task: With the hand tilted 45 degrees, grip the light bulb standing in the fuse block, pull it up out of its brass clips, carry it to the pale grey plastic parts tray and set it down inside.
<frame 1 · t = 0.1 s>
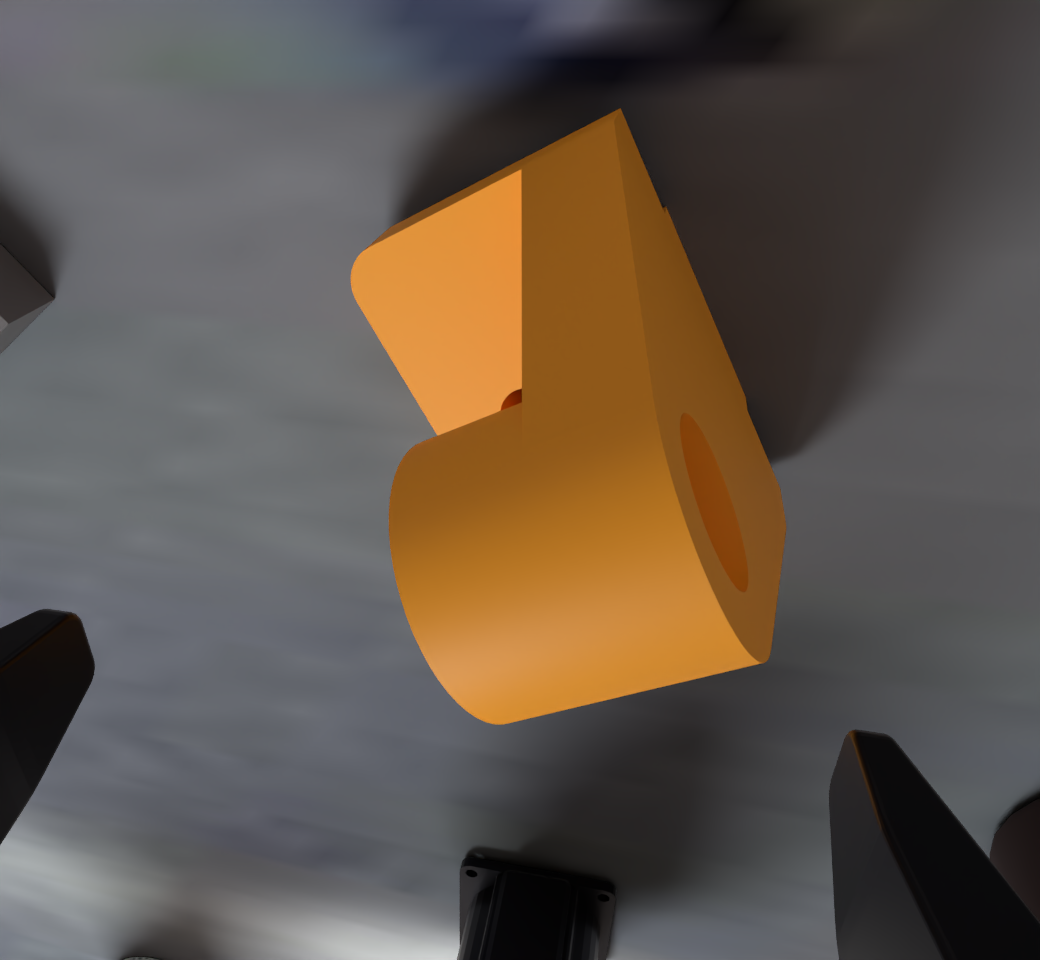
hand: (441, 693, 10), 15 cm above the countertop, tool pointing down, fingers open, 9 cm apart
bracket: (582, 354, 23), on the countertop
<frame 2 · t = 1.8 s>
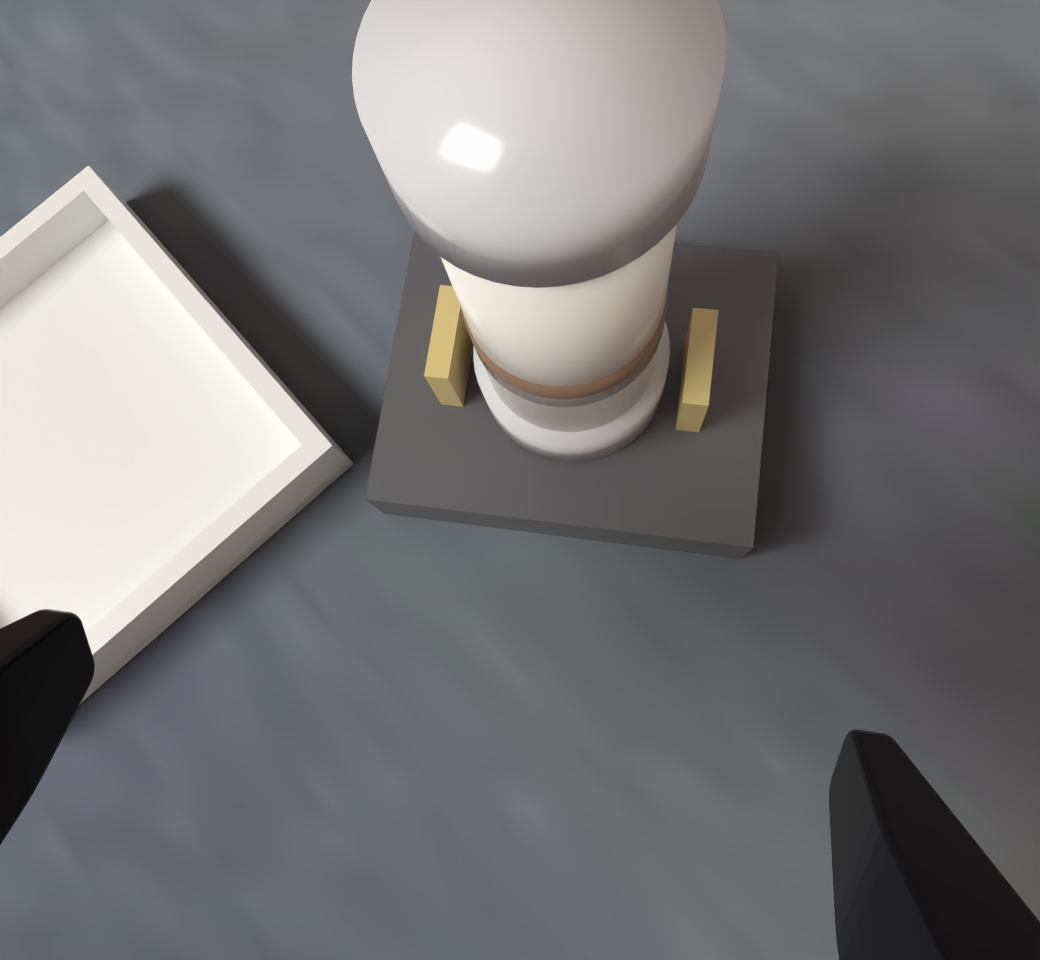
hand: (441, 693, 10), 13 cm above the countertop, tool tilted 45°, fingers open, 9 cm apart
fuse block: (576, 398, 24), on the countertop
tray: (80, 455, 26), on the countertop
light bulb: (573, 374, 23), point 2 cm above the countertop, touching fuse block
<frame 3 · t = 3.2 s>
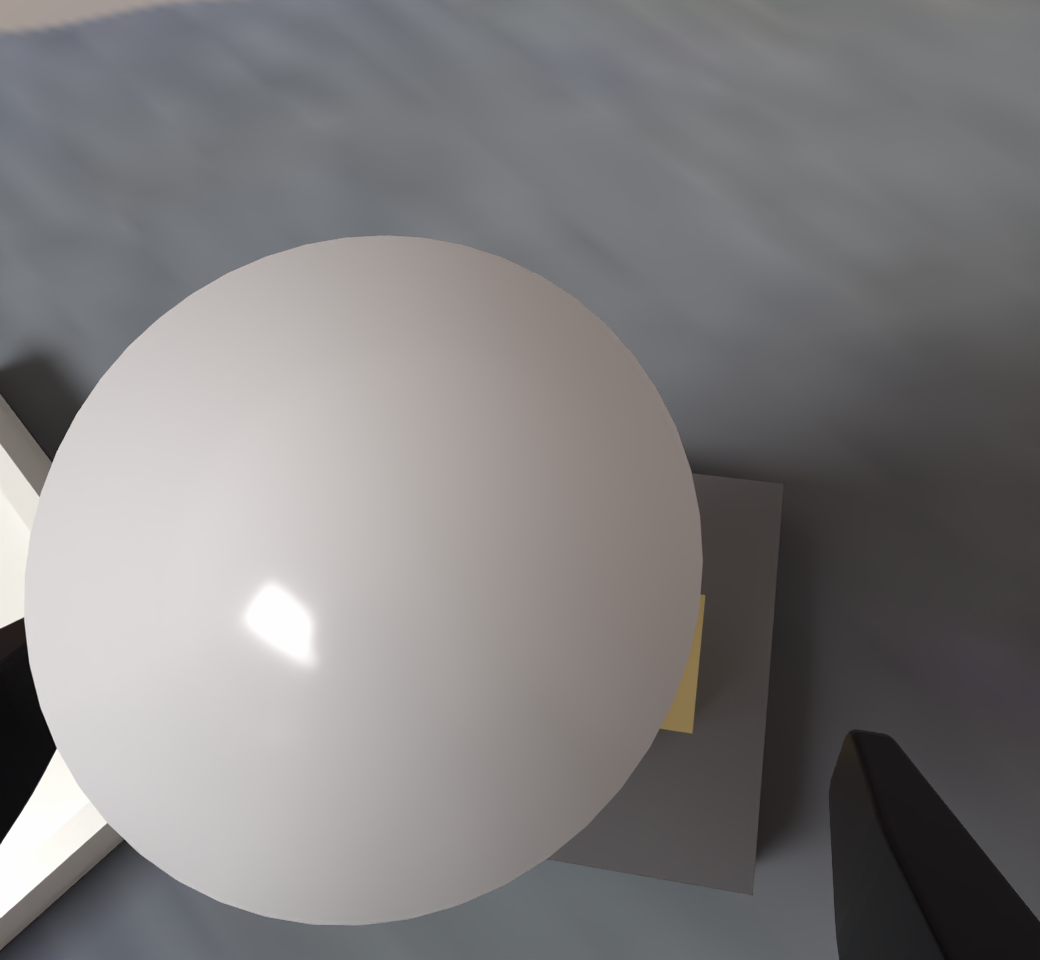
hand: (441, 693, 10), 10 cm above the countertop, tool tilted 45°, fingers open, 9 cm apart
fuse block: (529, 647, 19), on the countertop
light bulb: (520, 642, 17), point 2 cm above the countertop, touching fuse block
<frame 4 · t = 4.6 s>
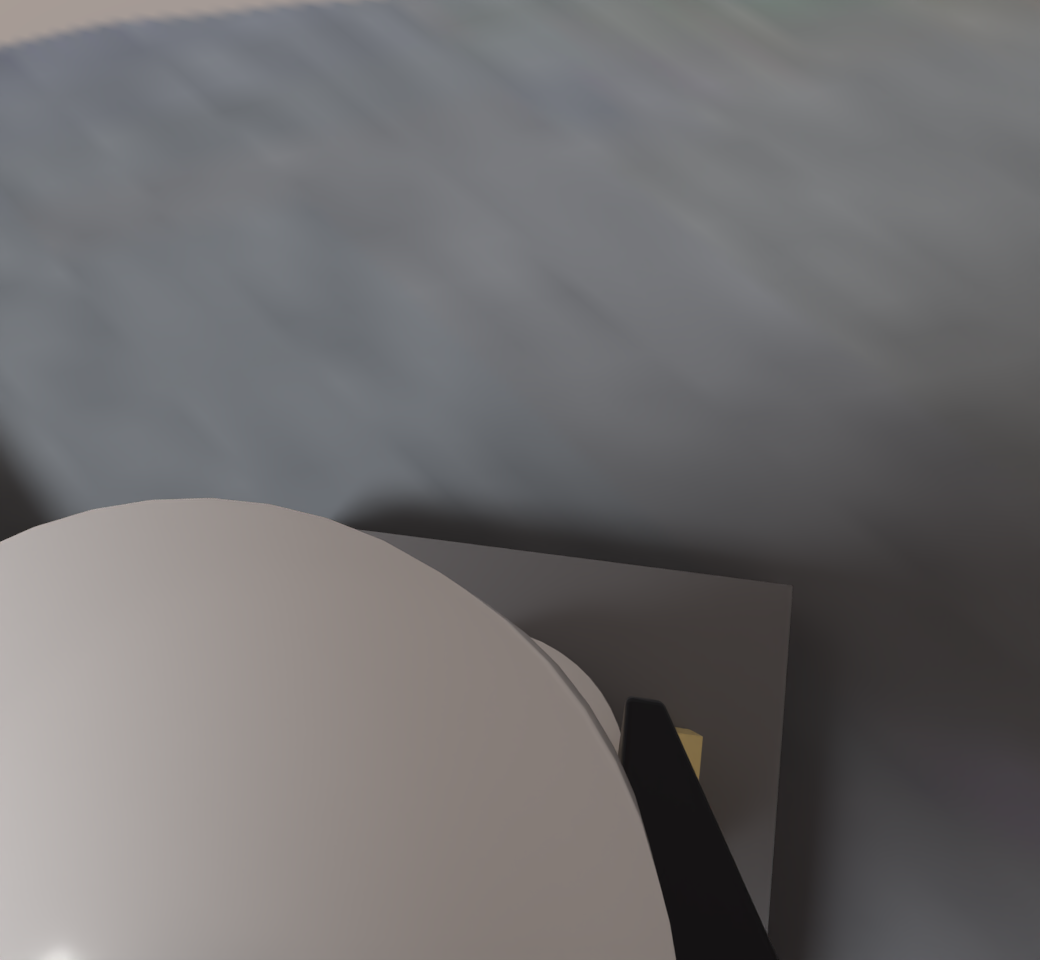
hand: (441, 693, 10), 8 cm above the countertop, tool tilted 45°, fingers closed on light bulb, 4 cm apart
fuse block: (505, 759, 17), on the countertop
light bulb: (492, 768, 15), point 2 cm above the countertop, touching fuse block, gripper
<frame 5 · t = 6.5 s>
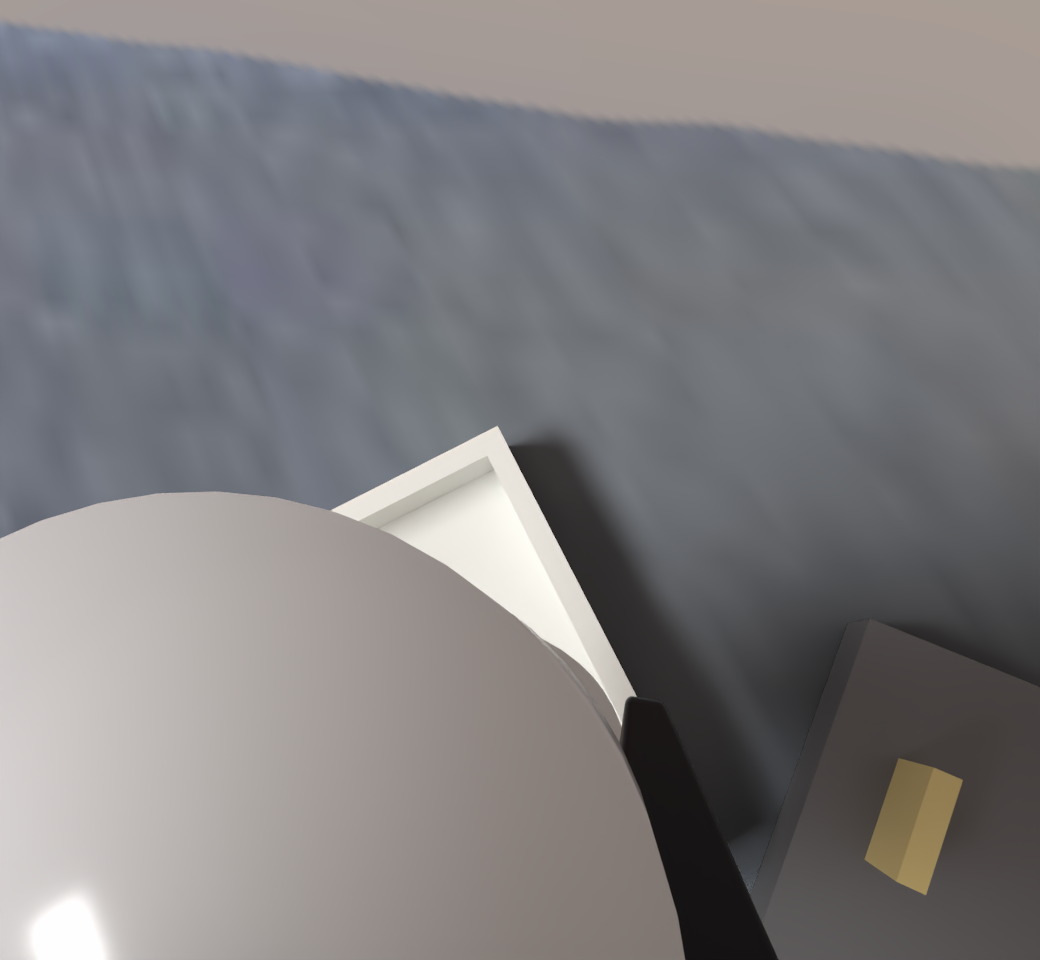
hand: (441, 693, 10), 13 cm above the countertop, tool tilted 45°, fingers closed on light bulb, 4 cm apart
fuse block: (993, 857, 21), on the countertop
tray: (405, 737, 23), on the countertop
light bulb: (494, 766, 15), point 7 cm above the countertop, touching gripper
when the fingers open (7 cm above the countertop, at t = 8.6 s): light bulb stays where it is, resting on tray.
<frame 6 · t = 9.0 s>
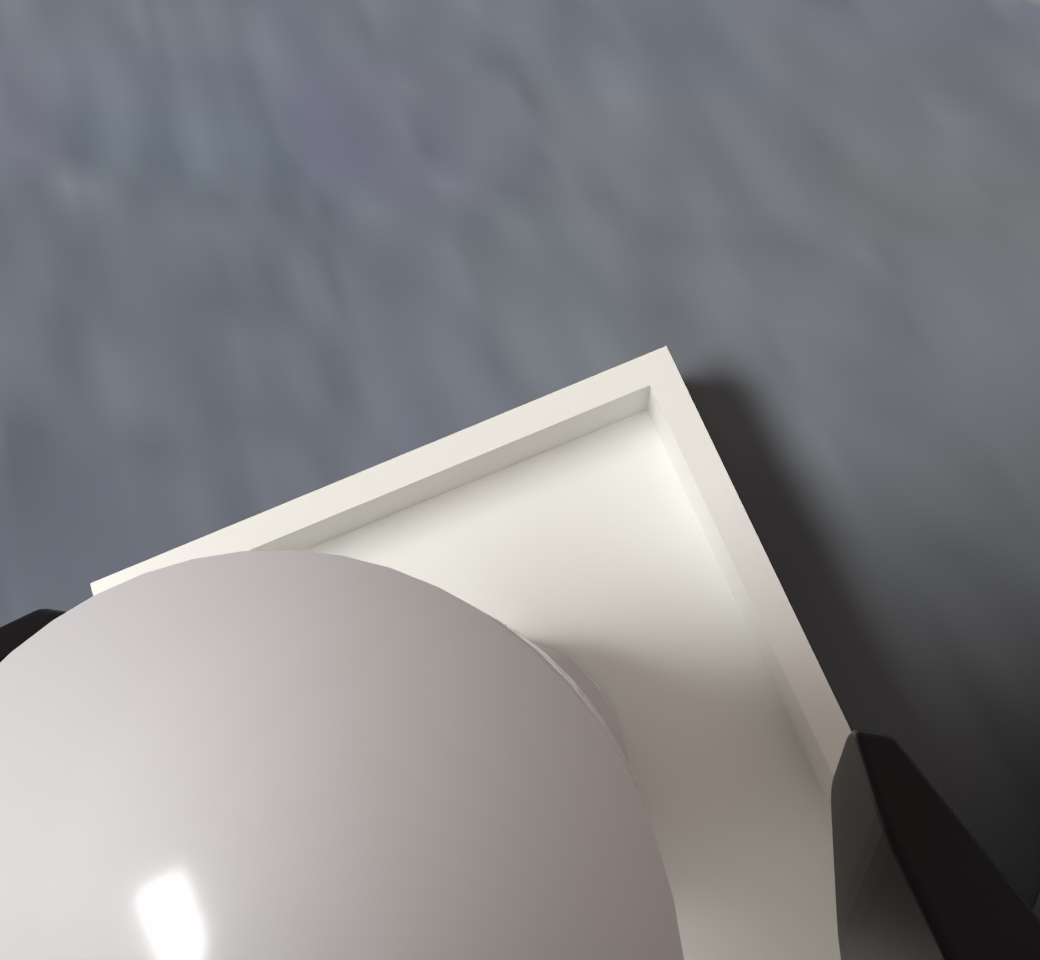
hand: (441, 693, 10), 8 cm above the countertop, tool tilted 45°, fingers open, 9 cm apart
tray: (503, 760, 17), on the countertop
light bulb: (500, 765, 16), point 1 cm above the countertop, touching tray
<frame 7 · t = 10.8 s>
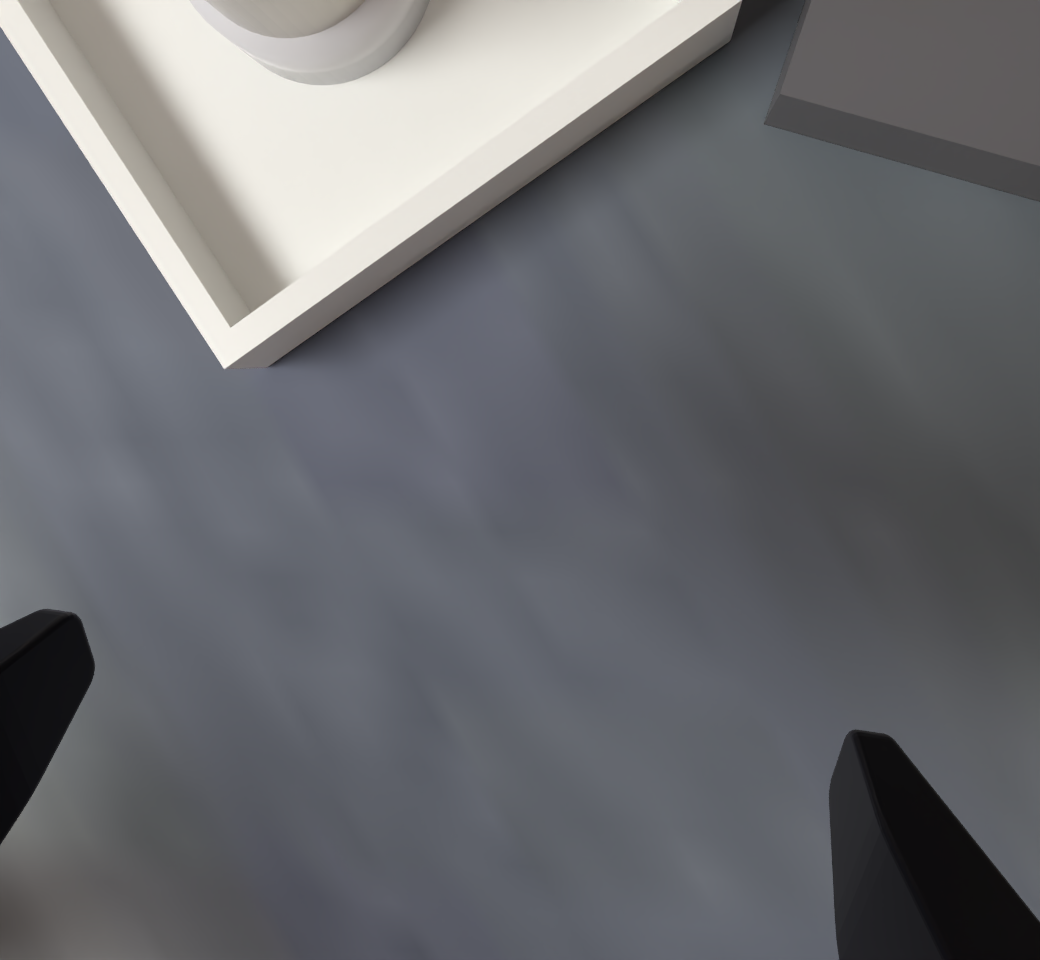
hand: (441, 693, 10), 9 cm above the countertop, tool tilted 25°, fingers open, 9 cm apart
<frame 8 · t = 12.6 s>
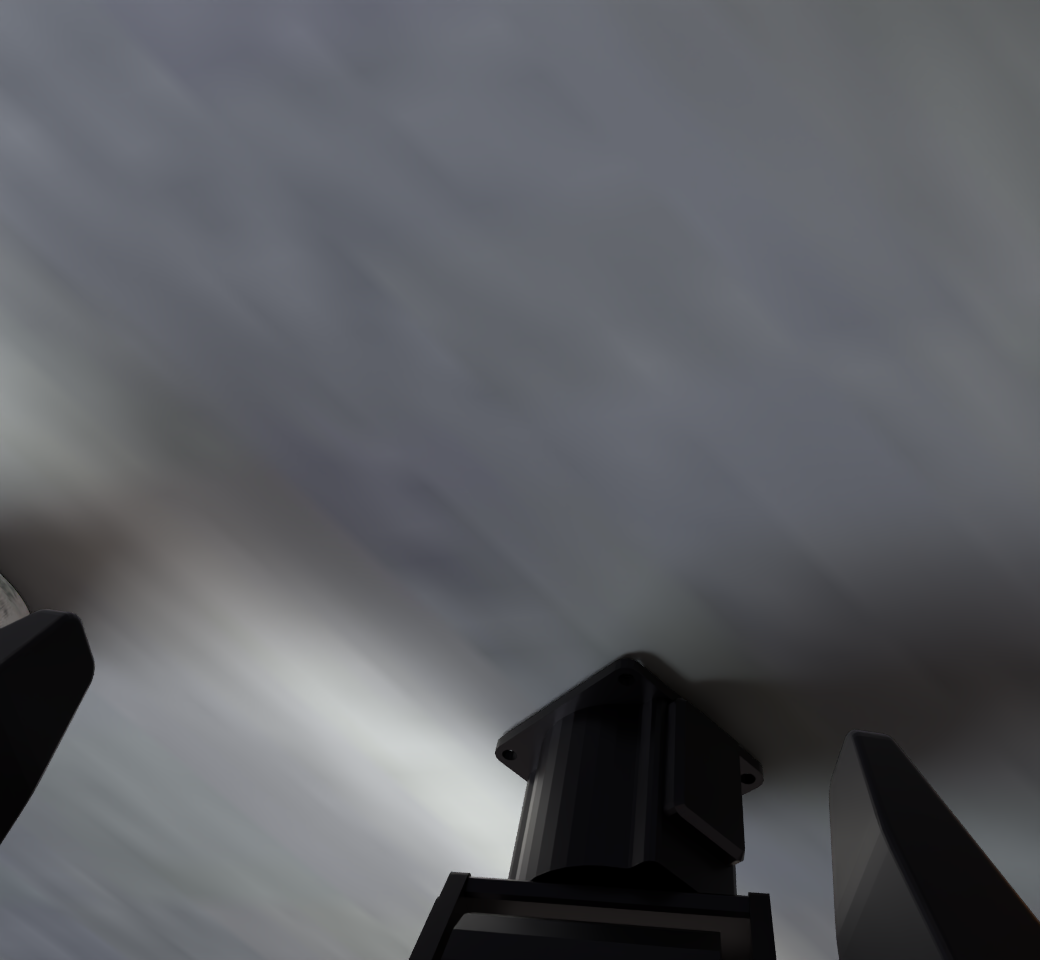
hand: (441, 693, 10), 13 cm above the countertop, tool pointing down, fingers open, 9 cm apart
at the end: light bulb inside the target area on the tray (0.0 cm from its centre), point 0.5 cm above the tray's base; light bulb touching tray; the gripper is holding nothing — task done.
